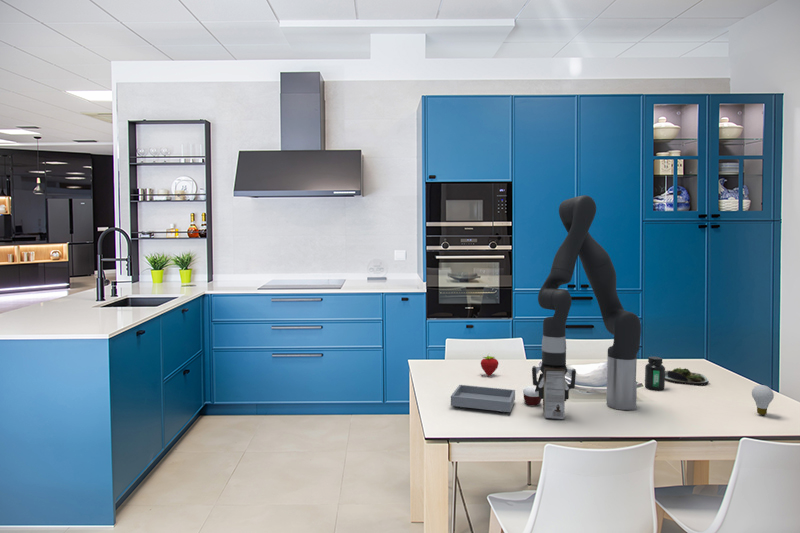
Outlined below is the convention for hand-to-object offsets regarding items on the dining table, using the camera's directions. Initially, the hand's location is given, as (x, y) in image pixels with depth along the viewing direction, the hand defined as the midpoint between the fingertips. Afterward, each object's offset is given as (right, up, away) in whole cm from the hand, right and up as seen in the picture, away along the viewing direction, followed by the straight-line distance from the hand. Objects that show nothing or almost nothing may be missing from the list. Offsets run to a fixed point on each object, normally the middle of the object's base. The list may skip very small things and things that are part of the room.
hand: (553, 399), depth 167 cm
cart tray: (-21, -5, +10) cm, 24 cm away
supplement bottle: (+48, -4, +29) cm, 56 cm away
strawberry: (-13, -3, +47) cm, 49 cm away
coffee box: (0, -5, 0) cm, 5 cm away
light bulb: (+68, -6, 0) cm, 69 cm away
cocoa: (-4, -5, +11) cm, 13 cm away
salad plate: (+66, -3, +42) cm, 78 cm away
